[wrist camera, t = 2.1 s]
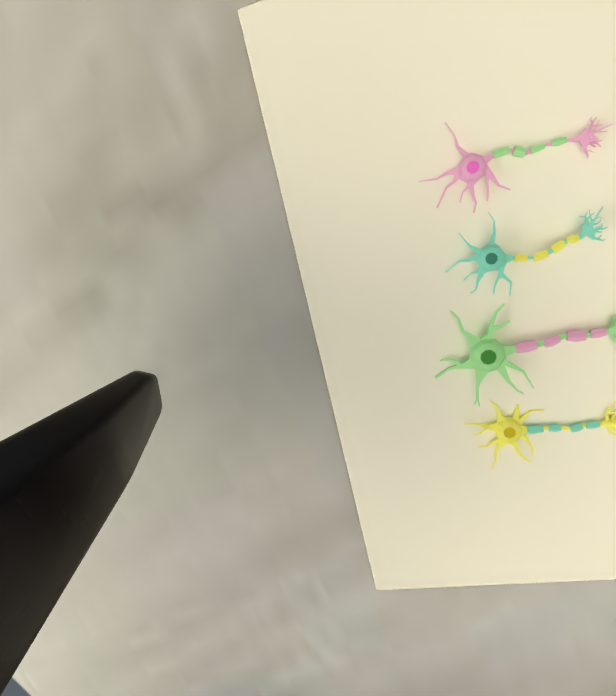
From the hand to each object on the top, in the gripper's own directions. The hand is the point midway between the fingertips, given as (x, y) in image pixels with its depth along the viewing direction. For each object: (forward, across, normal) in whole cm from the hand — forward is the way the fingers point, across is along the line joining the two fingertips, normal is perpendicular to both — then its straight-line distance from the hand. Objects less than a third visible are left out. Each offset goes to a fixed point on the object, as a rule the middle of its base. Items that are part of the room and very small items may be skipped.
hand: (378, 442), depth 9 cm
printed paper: (+16, -10, +3) cm, 19 cm away
